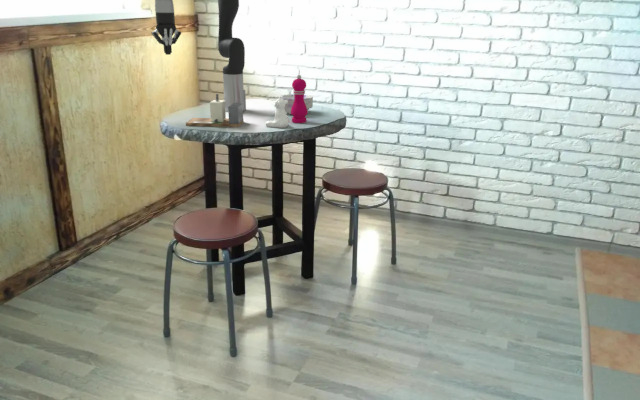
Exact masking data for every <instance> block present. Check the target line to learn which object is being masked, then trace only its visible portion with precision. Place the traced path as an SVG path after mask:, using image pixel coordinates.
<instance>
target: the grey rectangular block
mask: <svg viewBox="0 0 640 400" xmlns="http://www.w3.org/2000/svg"><path fill="white" fill-rule="evenodd" d="M228 119H229V124H239V123H240V122H241V121H242V120H244V111H243V103H232V104H231V105H230V106H229V107H228Z"/></svg>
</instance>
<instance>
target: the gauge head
mask: <svg viewBox="0 0 640 400" xmlns="http://www.w3.org/2000/svg"><path fill="white" fill-rule="evenodd" d="M209 108H210V118H211V122H223V121H224V120H225V119H227V117H226V115H227V114H226V111H225V100H224V99H222V100H221V99H219V93H216V94H215V99H213V100H211V101H210V102H209Z"/></svg>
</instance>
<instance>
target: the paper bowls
mask: <svg viewBox="0 0 640 400" xmlns="http://www.w3.org/2000/svg"><path fill="white" fill-rule="evenodd" d="M279 98H283V99H284V101H285V100H288V103H286V104H285V108H284V110H285V111H286V113H287V114H288V115H292V114H291V108H292V105H293V103H294V99H295V96H294V94H293V93H290V94H282V95H280V96H279ZM313 100H314V99H313V96H312V95H309V94H304V102H305V105H306V107H307V112H309V110H310V109H312V108H313V105H314V104H313Z"/></svg>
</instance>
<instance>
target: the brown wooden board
mask: <svg viewBox="0 0 640 400" xmlns="http://www.w3.org/2000/svg"><path fill="white" fill-rule="evenodd" d="M243 123H244V119H243V120H242V121H241V122H240V123H239V124H229V118H226V119H225V120H224V121H223V122H211V117H191V119H189V120H188V121H186V122H185V126H186V127H209V128H210V127H214V128H215V127H217V128H218V127H219V128H239V127H240V126H241V125H242V124H243Z"/></svg>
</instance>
